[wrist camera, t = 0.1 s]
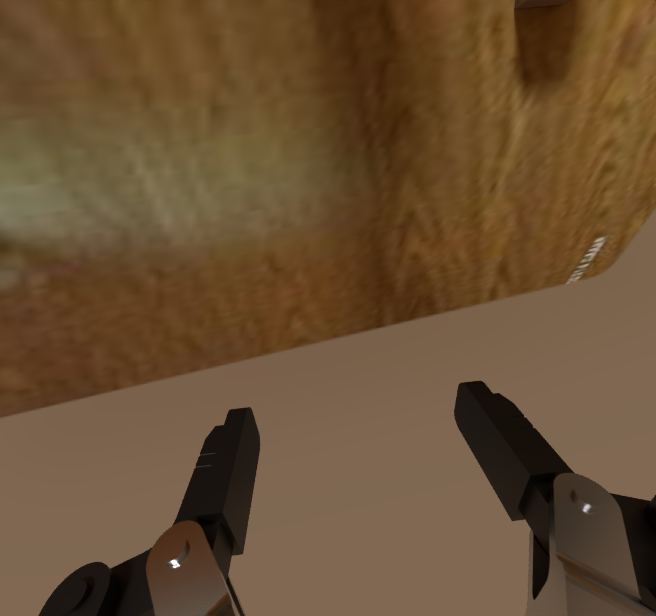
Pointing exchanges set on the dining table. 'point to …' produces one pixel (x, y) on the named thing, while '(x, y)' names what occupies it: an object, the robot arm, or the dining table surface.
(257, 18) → the dining table surface
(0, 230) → the dining table surface
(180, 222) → the dining table surface
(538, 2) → the walnut block
